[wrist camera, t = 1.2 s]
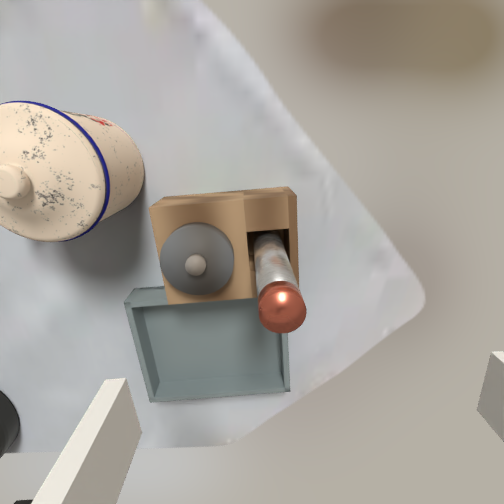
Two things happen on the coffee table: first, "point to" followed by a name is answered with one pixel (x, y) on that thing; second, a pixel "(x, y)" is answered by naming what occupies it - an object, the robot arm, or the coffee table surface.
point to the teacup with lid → (62, 171)
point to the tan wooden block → (219, 241)
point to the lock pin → (276, 285)
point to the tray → (205, 348)
